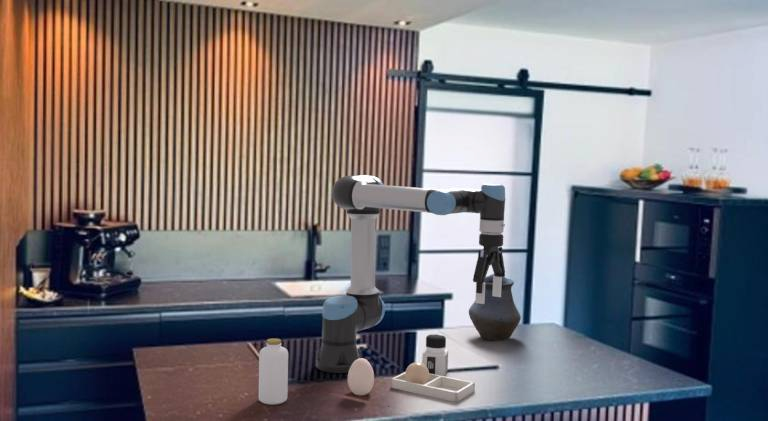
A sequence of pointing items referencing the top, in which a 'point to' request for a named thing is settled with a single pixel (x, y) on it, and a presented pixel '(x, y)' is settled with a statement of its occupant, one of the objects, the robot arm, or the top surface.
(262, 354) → the white bottle
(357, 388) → the egg
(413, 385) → the tray
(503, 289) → the dark clay urn
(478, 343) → the top surface
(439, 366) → the container
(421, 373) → the beige ball
